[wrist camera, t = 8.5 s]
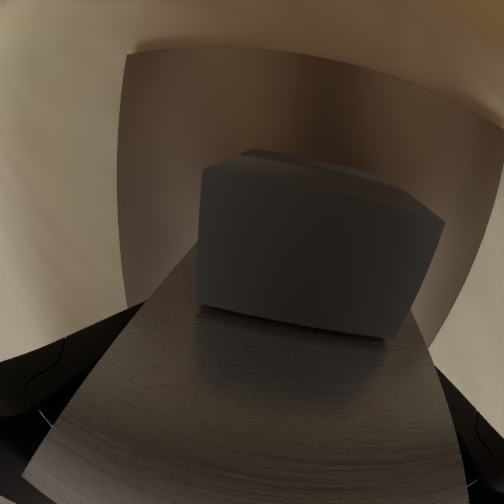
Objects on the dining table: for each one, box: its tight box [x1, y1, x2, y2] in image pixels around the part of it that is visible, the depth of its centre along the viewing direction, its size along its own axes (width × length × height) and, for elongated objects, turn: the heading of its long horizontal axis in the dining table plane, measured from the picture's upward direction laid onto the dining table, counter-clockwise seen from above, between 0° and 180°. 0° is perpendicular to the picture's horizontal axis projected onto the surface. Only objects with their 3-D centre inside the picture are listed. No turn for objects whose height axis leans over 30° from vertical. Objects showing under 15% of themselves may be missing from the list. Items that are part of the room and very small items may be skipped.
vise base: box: [117, 48, 504, 348], centre depth 12 cm, size 14×32×5 cm, turn 173°
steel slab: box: [21, 241, 469, 504], centre depth 5 cm, size 6×3×8 cm, turn 83°
